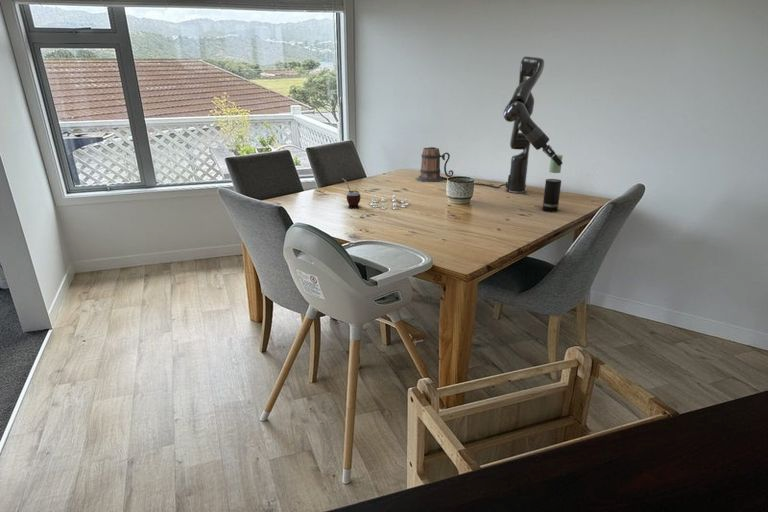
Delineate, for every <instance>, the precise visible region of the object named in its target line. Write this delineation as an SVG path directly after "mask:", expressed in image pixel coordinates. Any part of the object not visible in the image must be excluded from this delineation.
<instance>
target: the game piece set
mask: <svg viewBox="0 0 768 512" xmlns="http://www.w3.org/2000/svg"><path fill="white" fill-rule="evenodd" d="M396 197H397V195H396V194H394V193H393V195H392V200H391V201H392V202H394V203H392V205H393V207H392V209H393V210H398V207H397V203H396V202H397V199H396ZM380 201H381V202H386V199H384V194H382V197H381V200H380ZM370 202H371V203H369V206H372V208H378V205H377V203H378V202H379V201H378V199H377V195H376V194H375V195H374V199H373V198H371V201H370ZM400 203H402V205H401V206H400V208H407V206H409V205H410V204H409V199H408V198H405V199H403V200H401V201H400ZM381 210H386V205H385V204H384V203H382V205H381Z"/></svg>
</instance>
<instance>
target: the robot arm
mask: <svg viewBox="0 0 768 512" xmlns="http://www.w3.org/2000/svg"><path fill="white" fill-rule="evenodd" d="M544 68H545V59H544V58H542V57H537V56H536V57H535V56H529V55H528V56H523V57H522V59H521V61H520V65H519V74H518V85H517V86H516V88H515V90H514V92H513V95H512V97H511V99H510V100H509V102H508V103H507V105H506V106H505V108H504V110H503V118H504V120H505V121H506V122H508V123H512V122H513V125H512V130H511V135H510V141H509V147H510V149H511V150H515V151H517V150H519V151H520V150H521V152H520V153H518V154H515V155H512V156H511V158H510V159H511V160H510V169H509V174H508V177H507V181H506V182H505V183H503V184H499V186H494V185H492V184H487V183H479V182H474V183H475V184H474V185H476V186H484V187H485V186H486V187H490V188H493V189H500V188H501V187H505V189H506V192H508V193H512V194H524V193H525V192H526V187H527V185H526V184H527V174H528V167H529V165H528V164H529V156H530V155H529V154H530V148H531V145H532V147H533V148H534V149H535V150H536V151H539V150H541V149H542V152H543V153H544V154H545V155H546V156H547V157H548V158H550V159H551V158H552V160H554V161H555V162H556V163H557V164H558V166H560V165H561V166H562V165H563V160H562V161H561V160H560V159H559V158H558V156H557V155H558V154H556V151H555V150H554V149H553V147H552V146H551V145H550V144H548V143H549V141H550V138H549V136H548V135H547V134H546V133H545V132H544V131H543V129H541V127H539V126H538V125H537V124H536V122H535V121H534V120H533V119H532V118H531V117H532V115H533V112H534V107H535V98H534V95H533V93H532V90H533V88H534V87H535V86H536V84H537V82H539V79H540V78H541V76H542V75H543V71H544ZM552 155H555V156H554V157H552ZM441 177H442V179H443V180H447V178H448V177H445V176H441Z"/></svg>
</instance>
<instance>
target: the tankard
mask: <svg viewBox="0 0 768 512" xmlns="http://www.w3.org/2000/svg"><path fill="white" fill-rule="evenodd" d="M446 155H447V159H446V158H445V157H446ZM450 157H451V155H450V153H449V152H444V153H442V155H441V154H440V148H438V147H434V146H429V147H423V148H422V152H421V161H420V162H421V163H420V170H419V171H420V173H419V175H418V177H417V178H416V180H417V181H418V182H425V183H438V182H439V183H440V182H442V181H444V179H443V178H442V177H443V176H441V159H442V160H443V161H445V162H444V165H443V171H444V175H445V176H446V178H451V177H453V175H454V170H453V169H451V170H448V172H447V164H448V162H449V161H450Z"/></svg>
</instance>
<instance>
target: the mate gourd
mask: <svg viewBox="0 0 768 512" xmlns="http://www.w3.org/2000/svg"><path fill="white" fill-rule="evenodd" d="M341 180H343V181H344V182H345V183H346V186H347V188H348V192H347V193H346V202H347V204H348V209H359V204H360V202H361V193H360V192H359V190H351V188H350V185H349V182H348V181H347V180H346V179H344V178H343V177H342V178H341Z"/></svg>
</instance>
